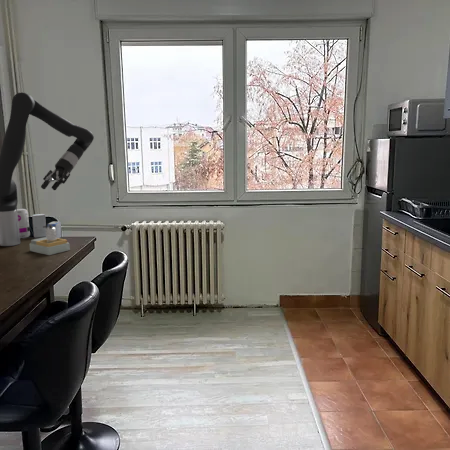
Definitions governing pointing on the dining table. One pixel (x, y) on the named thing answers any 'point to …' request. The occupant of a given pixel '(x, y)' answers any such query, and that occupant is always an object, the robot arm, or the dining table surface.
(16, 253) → the dining table surface
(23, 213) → the supplement can
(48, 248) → the bottle holder tray
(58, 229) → the medicine box
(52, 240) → the grey tall cylinder
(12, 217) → the robot arm
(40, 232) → the skincare box
